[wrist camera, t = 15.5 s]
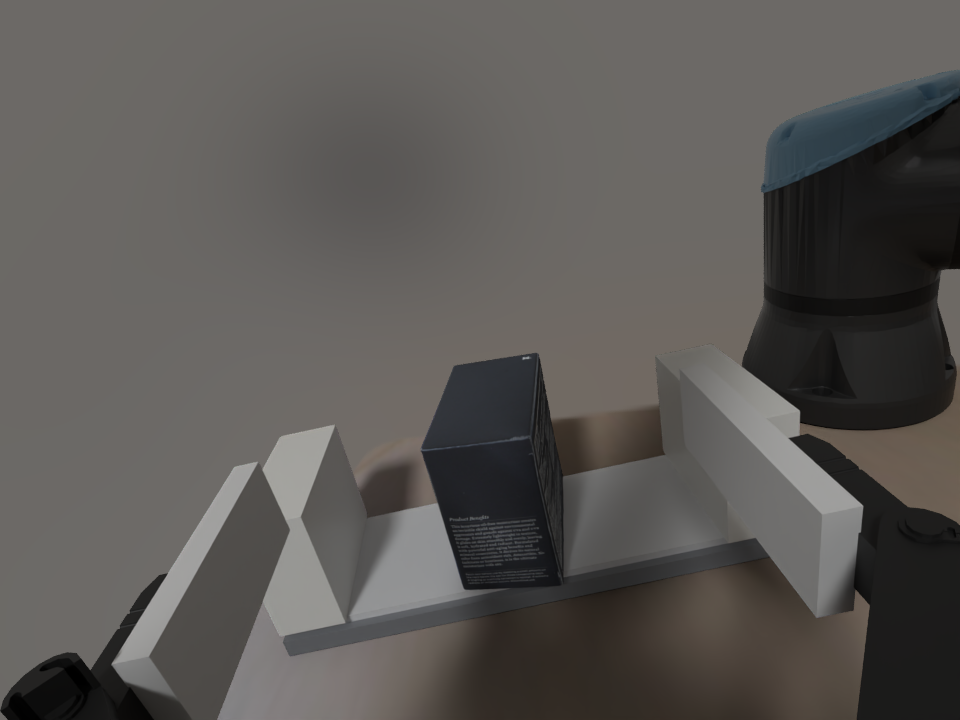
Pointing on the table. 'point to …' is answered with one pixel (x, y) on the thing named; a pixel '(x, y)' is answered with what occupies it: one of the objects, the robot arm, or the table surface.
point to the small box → (498, 475)
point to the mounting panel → (587, 548)
